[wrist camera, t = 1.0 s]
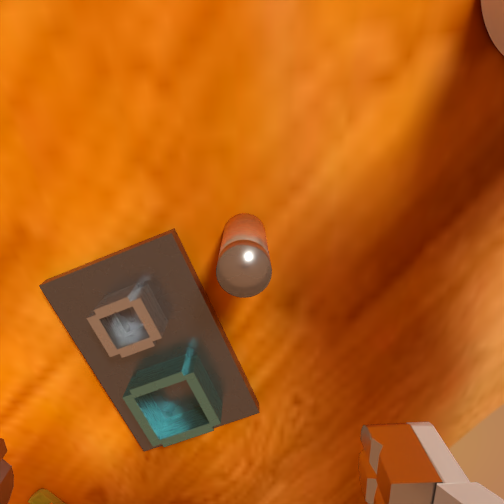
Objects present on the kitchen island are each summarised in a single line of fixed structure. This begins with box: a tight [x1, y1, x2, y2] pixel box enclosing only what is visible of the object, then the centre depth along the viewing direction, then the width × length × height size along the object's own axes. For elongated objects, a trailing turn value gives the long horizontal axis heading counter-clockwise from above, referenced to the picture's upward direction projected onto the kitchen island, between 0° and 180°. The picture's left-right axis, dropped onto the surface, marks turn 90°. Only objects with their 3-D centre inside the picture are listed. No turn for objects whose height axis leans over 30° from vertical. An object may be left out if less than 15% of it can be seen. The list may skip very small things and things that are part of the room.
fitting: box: [216, 213, 272, 297], centre depth 33 cm, size 4×4×10 cm
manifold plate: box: [39, 229, 259, 451], centre depth 39 cm, size 14×22×4 cm, turn 22°
